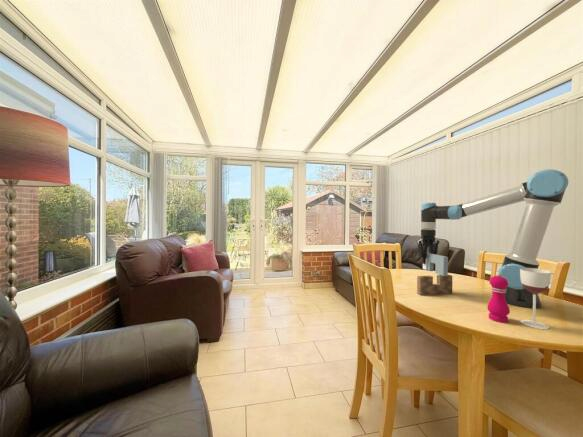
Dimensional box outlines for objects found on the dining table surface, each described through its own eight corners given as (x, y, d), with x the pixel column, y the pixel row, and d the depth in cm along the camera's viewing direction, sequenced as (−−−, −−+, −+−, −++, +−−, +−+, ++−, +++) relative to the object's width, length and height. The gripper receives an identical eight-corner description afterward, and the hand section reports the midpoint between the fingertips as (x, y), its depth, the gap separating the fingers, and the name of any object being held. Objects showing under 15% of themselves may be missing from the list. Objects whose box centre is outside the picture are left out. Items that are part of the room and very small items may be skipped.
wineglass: (522, 326, 96) (523, 271, 95) (516, 317, 104) (517, 266, 103) (553, 331, 91) (554, 274, 91) (545, 322, 99) (546, 269, 99)
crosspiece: (447, 275, 127) (447, 257, 127) (443, 275, 127) (443, 257, 127) (426, 268, 143) (426, 252, 143) (422, 268, 143) (422, 252, 143)
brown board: (448, 291, 138) (448, 274, 138) (452, 293, 135) (452, 275, 135) (417, 293, 135) (417, 276, 135) (420, 295, 132) (420, 277, 132)
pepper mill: (500, 316, 105) (501, 270, 105) (514, 323, 98) (515, 275, 98) (483, 315, 106) (483, 270, 105) (495, 323, 99) (495, 274, 98)
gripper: (435, 228, 145) (434, 267, 145) (411, 228, 143) (411, 268, 143) (445, 229, 137) (444, 270, 138) (420, 229, 135) (419, 271, 136)
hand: (427, 269), depth 141 cm, fingers closed on crosspiece, 2 cm apart
